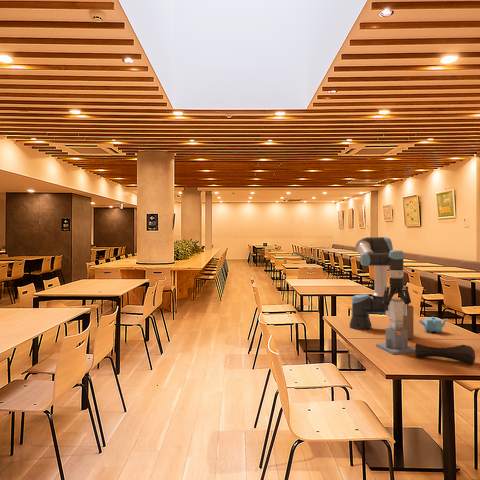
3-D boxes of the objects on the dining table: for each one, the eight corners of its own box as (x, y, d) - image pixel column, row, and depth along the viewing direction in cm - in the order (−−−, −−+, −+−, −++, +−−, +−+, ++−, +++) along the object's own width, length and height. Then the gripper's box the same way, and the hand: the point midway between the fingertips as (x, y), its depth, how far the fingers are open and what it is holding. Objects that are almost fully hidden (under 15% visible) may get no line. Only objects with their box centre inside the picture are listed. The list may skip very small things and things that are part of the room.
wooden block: (413, 336, 242) (413, 305, 242) (413, 339, 233) (413, 308, 233) (396, 334, 247) (396, 304, 247) (396, 338, 238) (396, 306, 238)
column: (389, 345, 216) (388, 298, 216) (397, 344, 217) (397, 298, 217) (395, 347, 210) (395, 300, 210) (404, 347, 211) (404, 300, 211)
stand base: (376, 346, 220) (376, 326, 220) (399, 344, 223) (399, 325, 223) (392, 354, 204) (392, 333, 204) (418, 352, 208) (418, 331, 208)
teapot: (420, 333, 250) (420, 318, 250) (417, 328, 263) (417, 314, 263) (450, 335, 245) (450, 319, 245) (445, 330, 258) (445, 315, 258)
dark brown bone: (476, 367, 190) (416, 365, 202) (473, 346, 194) (414, 346, 207) (477, 362, 181) (415, 361, 194) (474, 341, 186) (412, 341, 199)
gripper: (382, 278, 207) (382, 318, 207) (418, 277, 212) (418, 316, 213) (374, 277, 215) (374, 315, 215) (409, 276, 220) (409, 313, 220)
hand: (396, 315), depth 214 cm, fingers open, 10 cm apart
